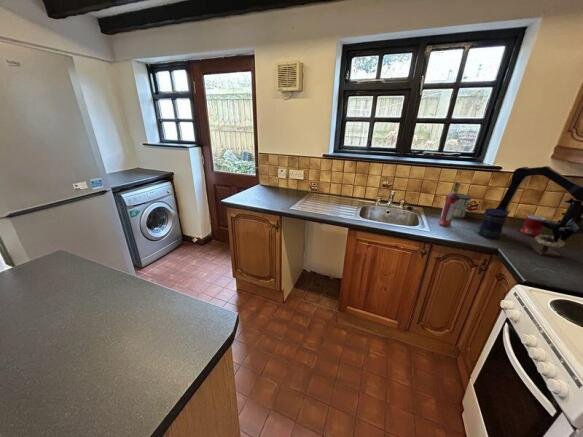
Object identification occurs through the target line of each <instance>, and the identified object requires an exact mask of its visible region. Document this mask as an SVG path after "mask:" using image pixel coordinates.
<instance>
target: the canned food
mask: <svg viewBox="0 0 583 437" xmlns="http://www.w3.org/2000/svg"><path fill="white" fill-rule="evenodd" d="M545 220H547V219H546V218H545V217H544V216H541V215H536V214H527V215H526V217H525V220H524V221H523V223H522V226H521V229H520V233H521V234H523V235H526V236H528V237H535V236H538V235H540V232H541V230H542V229H543V226H542V225H541V224H542V222H543V221H545Z"/></svg>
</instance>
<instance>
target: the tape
mask: <svg viewBox="0 0 583 437" xmlns="http://www.w3.org/2000/svg"><path fill="white" fill-rule="evenodd" d="M548 237H552V238H554V235H548V234H538V235H537V236H534V241H535V242H536V243H538V244H539V245H540V246H548V247H549V248H552V249H553V248H554V249H556V248H559V249H560V248H562V247H565V246H566V243H565V241H563V240H561V238H559V239H558V241H554V239H553V241H552V242H548V241H546V240H547V239H548Z"/></svg>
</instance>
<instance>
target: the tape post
mask: <svg viewBox="0 0 583 437" xmlns="http://www.w3.org/2000/svg"><path fill="white" fill-rule="evenodd" d="M553 239H554V238H552V237H548V239H547V240H545V241H548V242H553ZM527 248H530V249H531V250H532V251H534V252H535V253H537V254H538V255H540V256H542V257H543V256H546V257H556V258H561V257H562V254H561V253H559V252H558V251H556V250H554V249H553V248H552V247H548V246H544V245H540V244H539V245H537V244H528V245H527Z"/></svg>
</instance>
